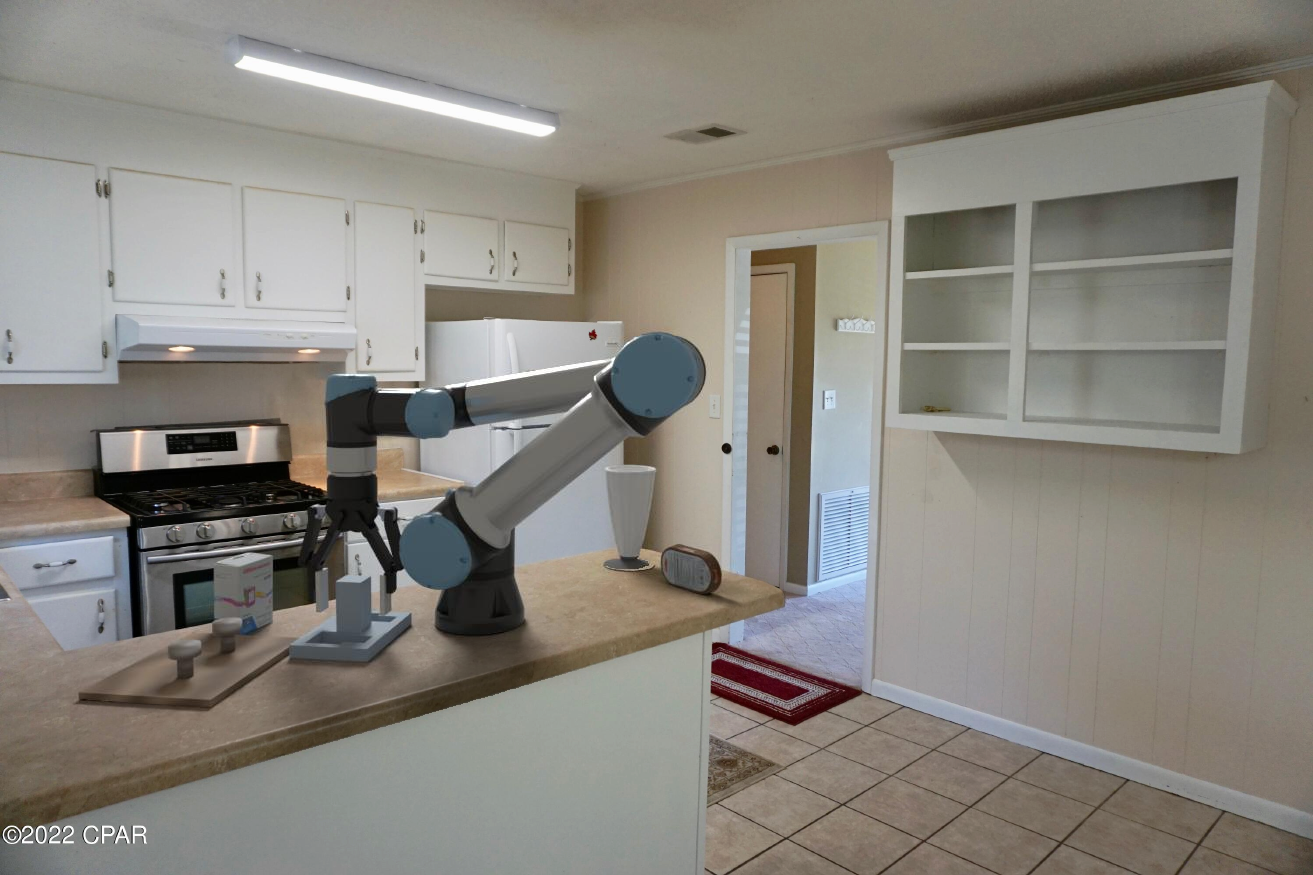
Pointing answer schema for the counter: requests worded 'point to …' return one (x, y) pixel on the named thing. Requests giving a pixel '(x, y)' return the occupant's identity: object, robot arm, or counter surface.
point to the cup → (629, 511)
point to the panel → (350, 639)
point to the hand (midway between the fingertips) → (354, 611)
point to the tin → (691, 569)
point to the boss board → (194, 668)
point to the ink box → (244, 590)
